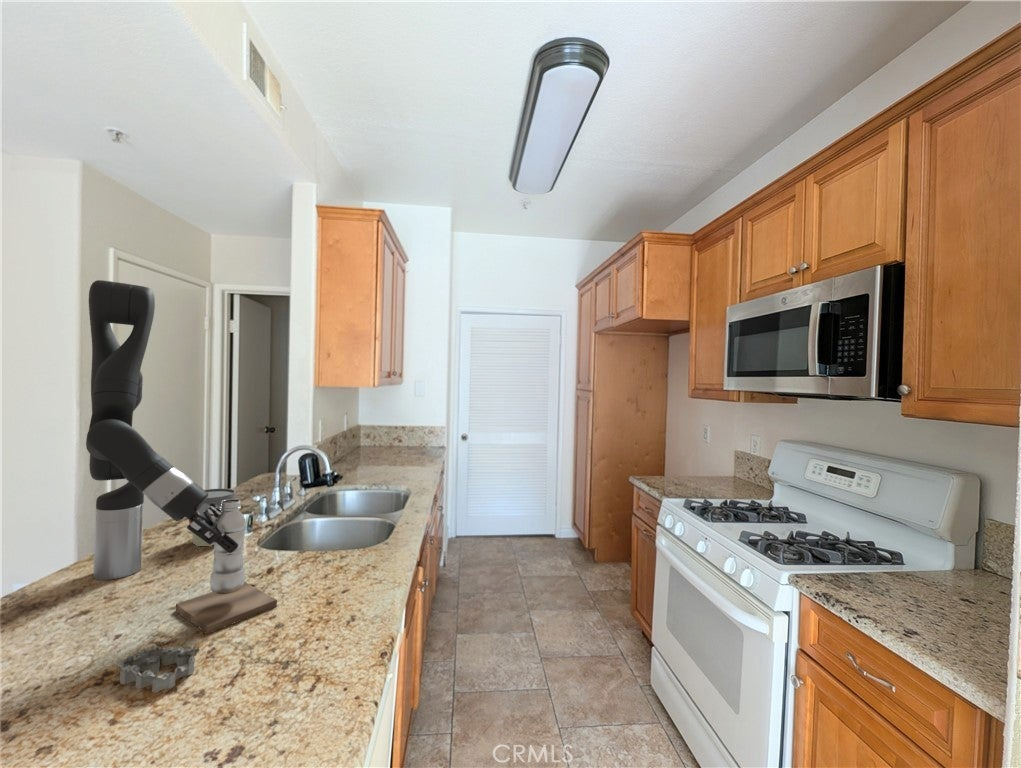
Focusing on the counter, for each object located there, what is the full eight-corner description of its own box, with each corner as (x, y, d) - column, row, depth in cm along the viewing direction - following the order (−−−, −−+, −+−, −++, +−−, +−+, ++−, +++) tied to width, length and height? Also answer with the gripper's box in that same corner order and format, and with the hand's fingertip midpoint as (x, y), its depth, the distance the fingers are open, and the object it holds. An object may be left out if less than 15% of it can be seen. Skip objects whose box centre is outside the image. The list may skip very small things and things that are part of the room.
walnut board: (175, 610, 97) (175, 603, 97) (243, 587, 108) (243, 581, 108) (207, 634, 88) (207, 626, 88) (276, 606, 100) (276, 599, 100)
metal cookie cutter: (202, 670, 78) (203, 647, 78) (157, 699, 71) (158, 673, 71) (158, 657, 81) (159, 634, 81) (110, 683, 74) (112, 658, 74)
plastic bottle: (228, 600, 94) (232, 506, 94) (201, 596, 96) (205, 503, 96) (251, 587, 101) (255, 499, 101) (226, 583, 102) (229, 496, 102)
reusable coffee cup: (201, 534, 143) (203, 488, 143) (242, 534, 144) (244, 488, 144) (176, 549, 130) (178, 498, 130) (221, 549, 131) (223, 498, 131)
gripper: (181, 488, 89) (246, 542, 93) (200, 474, 102) (257, 521, 107) (147, 516, 87) (215, 570, 91) (172, 498, 100) (230, 546, 105)
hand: (237, 544), depth 99 cm, fingers closed on plastic bottle, 6 cm apart
